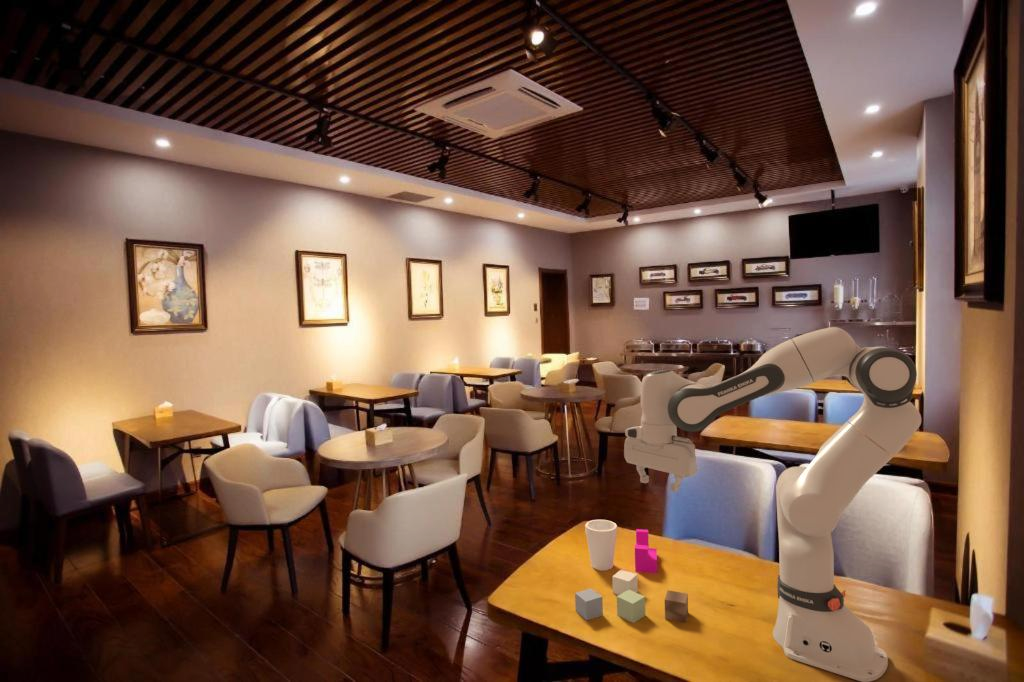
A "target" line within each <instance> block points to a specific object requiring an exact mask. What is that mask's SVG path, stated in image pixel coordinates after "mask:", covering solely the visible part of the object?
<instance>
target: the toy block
mask: <svg viewBox="0 0 1024 682" xmlns="http://www.w3.org/2000/svg"><path fill="white" fill-rule="evenodd" d="M649 545H650V544H649V529H639V528H636V529H635V545H634V567H635V569H634V570H635V572H639V573H650V574H658V552H657V551H658V550H657V548H651V547H649Z"/></svg>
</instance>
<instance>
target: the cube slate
mask: <svg viewBox="0 0 1024 682" xmlns="http://www.w3.org/2000/svg"><path fill="white" fill-rule="evenodd" d="M574 601H575V604H574V605H575V612H576V613H577V614H578V615H580V617H582V618H583V619H584V620H585V621H590V620H592V619H596V618H598V617H602V616H604V613H603V612H604V611H603V609H604V607H603V605H604V604H603V602H604V601H603V596H602V595H601V594H599V593H598V592H597V591H595V590H594V589H593V588H588V589H584V590H581V591H578V592H574Z"/></svg>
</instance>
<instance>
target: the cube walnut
mask: <svg viewBox="0 0 1024 682" xmlns="http://www.w3.org/2000/svg"><path fill="white" fill-rule="evenodd" d="M688 599H689V595H688V593H687V592H682V591H681V592H680V591H674V590H668V589H667V591H666V593H665V597H664V619H665V620H670V621H675V622H679V623H680V622H681V623H684V624H685V623H687V620H688V616H689V600H688Z"/></svg>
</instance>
